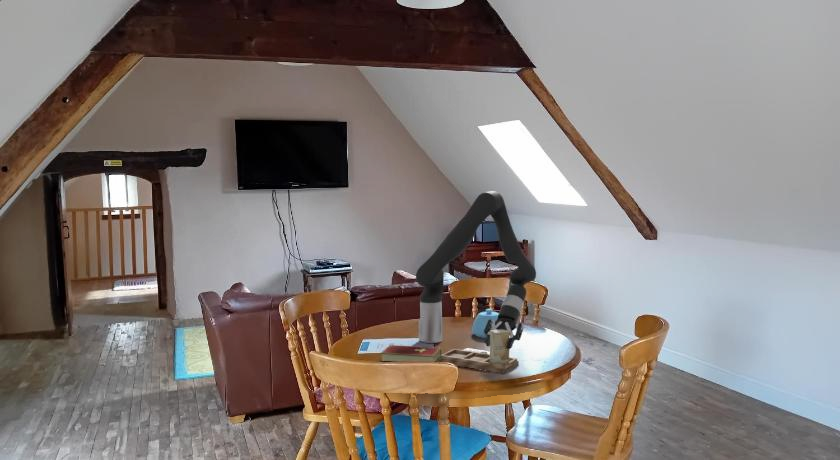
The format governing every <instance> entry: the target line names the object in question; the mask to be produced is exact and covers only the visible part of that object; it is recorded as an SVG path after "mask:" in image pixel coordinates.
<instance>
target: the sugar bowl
mask: <svg viewBox="0 0 840 460" xmlns="http://www.w3.org/2000/svg"><path fill="white" fill-rule="evenodd" d="M498 314H499V312H496V311H493V309H491V308H486V309H485V311H482V312H480V313H478V315H477V316H476V318H475V319H474V321H473V324H472V329H471V331H472V333H473V334H474V336H475V335H476V336H475V337H477V338H480V337H481V338H480V339H486V338H487V336H486V335H485V333H484V329H485V327H486V325H487V322H488V320H489V319H491V321H496V320H497V318H498ZM494 326H495V325H494ZM494 326H493V327H494ZM493 327H492V328H493ZM492 328H491V330H492ZM496 330H497V329H496Z"/></svg>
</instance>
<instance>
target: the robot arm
mask: <svg viewBox="0 0 840 460" xmlns="http://www.w3.org/2000/svg"><path fill="white" fill-rule="evenodd" d="M506 206H507V205H506V203H505V200H504V198H503V195H502V194H501V193H499V192H498V191H495V190H490V191H483V192H481V193H480V194H479V195H477V197H476V198H475V200H474V201H473V203H472V204H471V206H470V208H469V209H468V211H467V212H466V213H465V215H463V217H462V218H461V219H460V220H459V221H458V222H457V224H456V225H455V226H454V227H453V228H452V230H451V231H450V232H449V233H448V235H446V237H445V238H444V240H443V241H442V242H441V243H440V245H438V247H437V248H436V250H435V251H434V252H433V253H432V255H430V257H429V258H428V259H426V261H425V262H423V264H421V265H420V266H419V267H418V269H417V271H416V274H415V280H416V282H417V284H418V285H419V286H421V287H424V288H423V291H421V294H420V295H419V307H420V309H419V310H420V311H419V314H420V316H419V317H420V318H418V319H417V320H418V321H417V322H418V341H419V342H421V343H426V344H437V343H440V342H442V341H443V316H442V315H443V312H442V310H443V309H442V307H443V305H442V304H443V302H442V298H443V294H444V278H445V277H444V270H443V269H444V268H445V267H446V266H447V265H448V264H449V263H451V262H452V261H454V260H455V259H457V258H458V257H459V256H460V255H461V254H462V253H463V252H465V250H466V249H467V248H468V246H469V245H470V244H471V243H472V241H473V240H474V237H475V234H476V233H477V230H478V228H479V227H480V225H481V224H482V223H483V222H484V221H486V219H487V218H488V217H489V216H490V217H491V219H492V220H493V221H494V224H495V227H496V230H497V236H498V240H499V246H500V248H501V251H502V253H503V254H504V257H505V259H506V261H507V262H508V263H509V264H515V266H516V267H517V268H515V269H513V270H512V272H511V274H510V276H509V281H508V290H507V293H506V296H505V298H504V299H503V301H502V304H501V306H500V310H499V312H498V313H499V314H498V318H497V320H496V321H491V319H489V320H488V322H487V325H486V327H485V329H484V333H485V335H486V336H487V338H485V342H484V343H485V345H486V347H490V330H491V328H492V327H493V326H494V325H495V326H494V327H493V328H492V330H496V329H497V330H501V329H502V330H507V331H509V339H508V342H507V345H506V348H507V349H508V350H509V351H510V350H511V349H512V348H513V345H514V342H515V341H520V340H521V338H522V335H523V332H524V329H525V328H524V326H523V324H522V323H521V322H520V323H518V322H519V318H520V316H521V313H522V311H523V305H524V301H525V299H526V297H527V289H526V287H525V285H527V284H530V283H531V282H533V281H535V279H536V278H537V271H536V268H535V266H534V264H532V262H531V261H530V260H529V258H528V257H527V256H526V255H525V253H524V251H523V249H522V247H521V245H520V242H519V240H518V238H517V237H516V235H515V231H514V229H513V226H512V223H511V220H510V217H509V213H508V211H507V207H506ZM515 329H516V332H515V333H513V331H514V330H515Z"/></svg>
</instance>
